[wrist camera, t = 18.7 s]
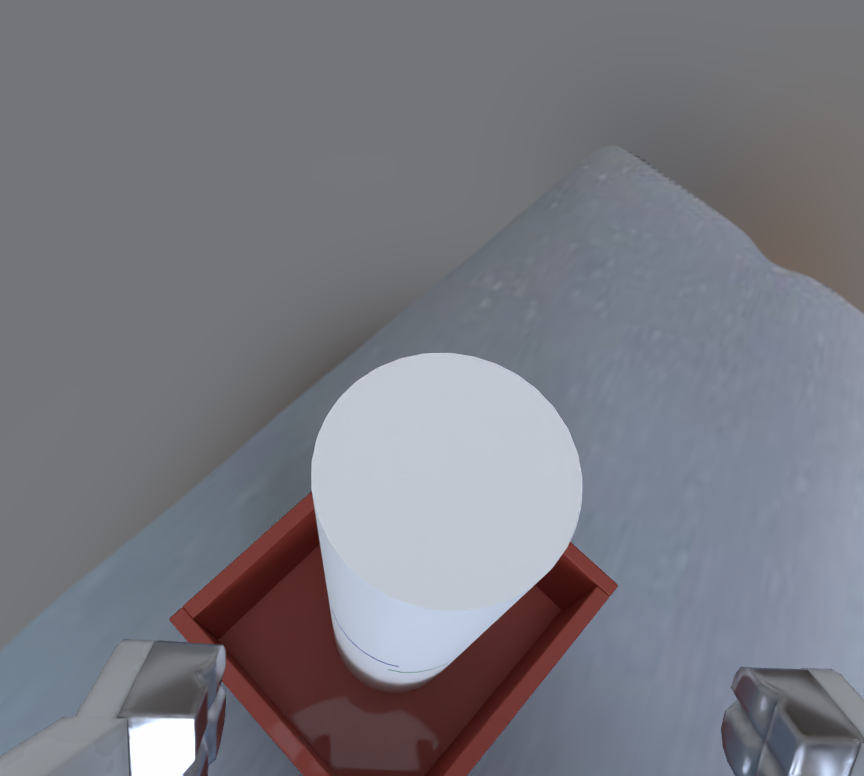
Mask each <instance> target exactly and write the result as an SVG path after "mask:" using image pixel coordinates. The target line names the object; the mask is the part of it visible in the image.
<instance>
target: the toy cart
mask: <svg viewBox="0 0 864 776" xmlns="http://www.w3.org/2000/svg"><path fill="white" fill-rule="evenodd" d="M617 587H618V585H617V584H616V583H615V582H614V581H613V580H612V579H611V578H610V577H609V576H607V575H606V574H605V573H604V572H603V571H602V570H601V569H600V568H599V567H598V566H596V565H595V564H594V563H593V562H592V561H591V560H590V559H589V558H588V557H586V556H585V555H584V554H583V553H582V552H581V551H580V550H579V549H578V548H577V547H575V546H574V545H573V544H572V543H571V542H569V545H568V547H567V549H566V550H565V551H564V553H563V554H562V556H561V557H560V558H559V560H558V561H557V563H556V564H555V565H554V567H553V568H552V569H551V570H550V571H549V572H548V573H547V574H546V575H545V576H544V577H543V578H542V579H541V580H539V581H538V582H537V583H536V584H535V585H534V586H533V587H532V588H531V589H530V590H529V591H528V592H527V593H526V594H524V595H523V596H522V597H521V598H520V599H519V600H518V601H517V602H516V603H515V604H514V605H513V606H512V607H510V608H509V609H508V610H507V611H506V612H505V613H504V614H503V615H502V616H501V617H500V618H499V619H498V620H497V621H495V622H494V623H493V624H492V625H491V626H490V627H489V628H488V629H487V630H486V631H485V632H484V633H483V634H482V635H480V636H479V637H478V638H477V639H476V640H475V641H474V642H473V643H472V644H471V645H470V646H469V647H468V648H467V649H465V650H464V651H463V652H462V653H461V654H460V655H459V656H458V657H457V658H456V659H455V660H454V661H453V662H451V663H450V664H449V665H448V666H447V667H446V668H445V669H444V670H443V671H442V672H441V673H440V674H438V675H437V676H436V677H435V678H434V679H433V680H432V681H431V682H429V683H427V684H425V685H423V686H422V687H420V688H417V689H414V690H411V691H408V692H398V693H391V692H384V691H379V690H376V689H374V688H371V687H369V686H367V685H365V684H364V683H362V682H360V681H359V680H358V679H357V678H356V677H355V676H354V675H353V674H351V673H350V671H349V670H348V668H347V667H346V666H345V664H344V663H343V661H342V659H341V657H340V655H339V652H338V650H337V646H336V642H335V637H334V631H333V624H332V618H331V611H330V605H329V599H328V592H327V586H326V579H325V573H324V566H323V560H322V554H321V547H320V541H319V534H318V528H317V521H316V515H315V508H314V502H313V496H312V492H310V493H309V494H308V495H307V496H306V497H305V498H304V499H303V500H302V501H300V502H299V503H298V504H297V505H296V506H295V507H294V508H293V509H291V510H290V511H289V512H288V513H287V514H286V515H285V516H284V517H282V518H281V519H280V520H279V521H278V522H277V523H276V524H275V525H273V526H272V527H271V528H270V529H269V530H268V531H267V532H266V533H264V534H263V535H262V536H261V537H260V538H259V539H258V540H257V541H255V542H254V543H253V544H252V545H251V546H250V547H249V548H248V549H247V550H245V551H244V552H243V553H242V554H241V555H240V556H239V557H238V558H236V559H235V560H234V561H233V562H232V563H231V564H230V565H229V566H227V567H226V568H225V569H224V570H223V571H222V572H221V573H220V574H218V575H217V576H216V577H215V578H214V579H213V580H212V581H211V582H209V583H208V584H207V585H206V586H205V587H204V588H203V589H202V590H200V591H199V592H198V593H197V594H196V595H195V596H194V597H193V598H192V599H190V600H189V601H188V602H187V603H186V604H185V605H184V606H183V607H182V608H181V609H179V610H178V611H177V612H176V613H175V614H174V615H173V616H172V617H170V619H169V620H170V621H171V623H172V624H173V625H174V626H175V627H176V628H177V629H178V631H179V632H180V633H181V634H182V635H183V636H184V638H185V639H186V640H187V641H188V642H189V643H203V644H218V645H224V648H225V652H226V669H225V672H224V675H223V678H222V682H223V683H224V684H225V685H226V686H227V687H228V689H229V690H230V691H231V692H232V693H233V694H234V696H235V697H236V698H237V699H238V700H239V701H240V702H241V704H242V705H243V706H244V707H245V708H246V709H247V711H248V712H249V713H250V714H251V715H252V716H253V718H254V719H255V720H256V721H257V722H258V723H259V725H260V726H261V727H262V728H263V729H264V730H265V731H266V733H267V734H268V735H269V736H270V737H271V738H272V740H273V741H274V742H275V743H276V744H277V745H278V747H279V748H280V749H281V750H282V751H283V752H284V753H285V755H286V756H287V757H288V758H289V759H290V760H291V762H292V763H293V764H294V765H295V766H296V767H297V769H298V770H299V771H300V772H301V773H302V774H303V776H467V775H468V774H469V772H470V771H471V770H472V769H473V767H474V766H475V765H476V764H477V762H478V761H479V760H480V759H481V757H482V756H483V755H484V754H485V752H486V751H487V750H488V749H489V747H490V746H491V745H492V744H493V742H494V741H495V740H496V739H497V737H498V736H499V735H500V734H501V732H502V731H503V730H504V729H505V727H506V726H507V725H508V724H509V722H510V721H511V720H512V719H513V717H514V716H515V715H516V713H517V712H518V711H519V710H520V708H521V707H522V706H523V705H524V703H525V702H526V701H527V700H528V698H529V697H530V696H531V695H532V693H533V692H534V691H535V690H536V688H537V687H538V686H539V685H540V683H541V682H542V681H543V680H544V678H545V677H546V676H547V675H548V673H549V672H550V671H551V670H552V668H553V667H554V666H555V665H556V663H557V662H558V661H559V660H560V658H561V657H562V656H563V655H564V653H565V652H566V651H567V650H568V648H569V647H570V646H571V645H572V643H573V642H574V641H575V640H576V638H577V637H578V636H579V635H580V633H581V632H582V631H583V630H584V628H585V627H586V626H587V625H588V623H589V622H590V621H591V620H592V618H593V617H594V616H595V614H596V613H597V612H598V611H599V609H600V608H601V607H602V606H603V604H604V603H605V602H606V601H607V599H608V598H609V596H611V594H612V593H613V592H614V591H615V589H616V588H617Z"/></svg>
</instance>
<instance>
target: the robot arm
mask: <svg viewBox="0 0 864 776" xmlns="http://www.w3.org/2000/svg"><path fill="white" fill-rule="evenodd" d="M225 669H226V652H225V648H224V645H218V644H203V643H187V642H172V641H151V640H133V639H124V640H122V641H121V642H120V643H118V644H117V645H116V647H115V649H114V650H113V652H112V654H111V656H110V657H109V659H108V661H107V662H106V664H105V666H104V668H103V669H102V671H101V673H100V674H99V676H98V678H97V679H96V681H95V683H94V685H93V686H92V688H91V690H90V691H89V693H88V695H87V697H86V698H85V700H84V702H83V703H82V705H81V707H80V708H79V710H78V712H77V714H76V715H75V717H63V718H61V719H59V720H58V721H56V722H55V723H53V724H51V725H50V726H48V727H47V728H45V729H43V730H42V731H40V732H39V733H37V734H35V735H34V736H32V737H31V738H29V739H27V740H26V741H24V742H22V743H21V744H19V745H18V746H16V747H14V748H13V749H11V750H10V751H8V752H6V753H5V754H3V755H2V756H0V776H208V766H209V765H210V764H211V763H212V762H213V761H215V760H216V756H217V753H218V749H219V746H220V742H221V736H222V731H223V726H224V718H225V707H226V692H225V691H224V689H223V688H222V687H221V686H220V684H221V681H222V678H223V675H224V672H225ZM731 689H732V690H733V692H734V694H735V696H736V698H737V700H736V701H735V702H734V703H733V704H732V705H731V706H730V707H729V708H728V709H727V710H725V714H724V718H723V723H722V728H721V731H722V743H723V749H724V752H725V755H726V758H727V761H728V763H729V765H730V767H731V769H732V771H733V773H734V774H735V776H864V699H863V698H862V697H861V696H860V695H859V694H858V693H857V692H856V690H855V689H854V688H853V687H852V686H851V685H850V684H849V683H848V681H847V680H846V679H845V678H844V677H843V676H842V675H841V674H840V673H838V672H836V671H835V670H833V669H816V668H801V669H779V668H752V667H740V669H739V670H738V671H737V672H736V674H735V676H734V679H733V683H732V686H731Z"/></svg>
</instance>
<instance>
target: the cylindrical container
mask: <svg viewBox="0 0 864 776" xmlns="http://www.w3.org/2000/svg"><path fill="white" fill-rule="evenodd" d="M311 489H312V496H313V502H314V508H315V515H316V521H317V528H318V534H319V541H320V547H321V554H322V560H323V566H324V573H325V579H326V586H327V592H328V599H329V605H330V611H331V618H332V624H333V631H334V637H335V642H336V646H337V650H338V652H339V655H340V657H341V659H342V661H343V663H344V664H345V666H346V667H347V668H348V670H349V671H350V673H351V674H353V675H354V676H355V677H356V678H357V679H358V680H359V681H360V682H362V683H364V684H365V685H367V686H369V687H371V688H374V689H376V690H379V691H384V692H391V693H398V692H408V691H411V690H414V689H417V688H420V687H422V686H423V685H425V684H427V683H429V682H431V681H432V680H433V679H434V678H435V677H436V676H437V675H438V674H440V673H441V672H442V671H443V670H444V669H445V668H446V667H447V666H448V665H449V664H450V663H451V662H453V661H454V660H455V659H456V658H457V657H458V656H459V655H460V654H461V653H462V652H463V651H464V650H465V649H467V648H468V647H469V646H470V645H471V644H472V643H473V642H474V641H475V640H476V639H477V638H478V637H479V636H480V635H482V634H483V633H484V632H485V631H486V630H487V629H488V628H489V627H490V626H491V625H492V624H493V623H494V622H495V621H497V620H498V619H499V618H500V617H501V616H502V615H503V614H504V613H505V612H506V611H507V610H508V609H509V608H510V607H512V606H513V605H514V604H515V603H516V602H517V601H518V600H519V599H520V598H521V597H522V596H523V595H524V594H526V593H527V592H528V591H529V590H530V589H531V588H532V587H533V586H534V585H535V584H536V583H537V582H538V581H539V580H541V579H542V578H543V577H544V576H545V575H546V574H547V573H548V572H549V571H550V570H551V569H552V568H553V567H554V565H555V564H556V563H557V561H558V560H559V558H560V557H561V556H562V554H563V553H564V551H565V550H566V549H567V547H568V545H569V542H570V540H571V538H572V536H573V533H574V531H575V529H576V527H577V523H578V518H579V514H580V509H581V505H582V473H581V468H580V462H579V457H578V452H577V450H576V447H575V445H574V442H573V440H572V437H571V435H570V433H569V430H568V428H567V427H566V425H565V423H564V422H563V420H562V419H561V417H560V416H559V414H558V413H557V411H556V410H555V408H554V407H553V406H552V405H551V404H550V403H549V402H548V400H547V399H546V398H545V397H544V396H543V395H542V394H541V393H540V392H539V391H538V390H537V389H536V388H535V387H533V386H532V385H531V384H529V383H528V382H527V381H525V380H524V379H522V378H521V377H520V376H518V375H517V374H515V373H513V372H511V371H509V370H507V369H505V368H503V367H502V366H500V365H498V364H495V363H492V362H489V361H486V360H483V359H480V358H477V357H473V356H467V355H461V354H454V353H425V354H420V355H415V356H410V357H405V358H400V359H398V360H395V361H393V362H390V363H388V364H385V365H383V366H380V367H378V368H376V369H374V370H373V371H371V372H370V373H368V374H367V375H365V376H364V377H362V378H361V379H359V380H358V381H356V382H355V383H354V384H353V385H352V386H351V387H350V388H349V389H348V390H347V391H346V392H345V393H344V394H343V395H342V396H341V397H340V398H339V399H338V400H337V402H336V403H335V405H334V406H333V408H332V409H331V411H330V412H329V413H328V415H327V416H326V418H325V421H324V423H323V425H322V427H321V430H320V432H319V434H318V436H317V439H316V444H315V449H314V453H313V458H312V470H311Z"/></svg>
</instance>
